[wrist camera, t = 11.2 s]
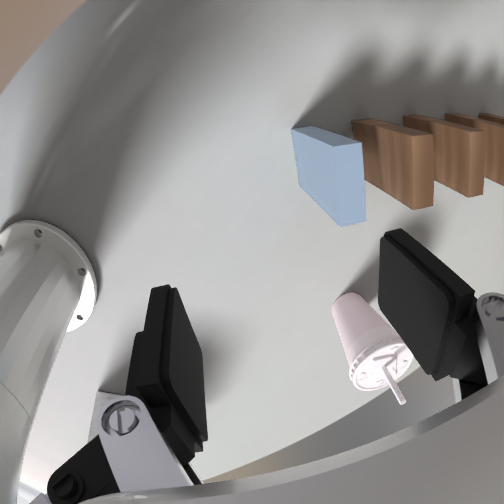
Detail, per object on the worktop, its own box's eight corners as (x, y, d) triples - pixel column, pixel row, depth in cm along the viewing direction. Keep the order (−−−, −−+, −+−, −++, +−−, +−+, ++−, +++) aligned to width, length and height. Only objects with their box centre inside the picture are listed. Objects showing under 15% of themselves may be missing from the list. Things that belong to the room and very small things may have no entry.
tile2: (356, 175, 27) (413, 210, 19) (351, 120, 25) (412, 136, 17) (373, 172, 27) (433, 205, 20) (369, 118, 25) (433, 134, 17)
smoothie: (353, 271, 32) (424, 367, 20) (382, 301, 35) (445, 389, 22) (308, 311, 34) (356, 418, 21) (341, 336, 36) (389, 431, 24)
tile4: (446, 160, 28) (508, 188, 20) (445, 113, 25) (511, 130, 18) (458, 159, 28) (519, 186, 20) (457, 113, 25) (522, 130, 18)
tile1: (299, 186, 27) (340, 227, 19) (291, 129, 25) (333, 146, 17) (319, 182, 27) (366, 221, 19) (311, 125, 25) (361, 142, 17)
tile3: (406, 166, 28) (468, 197, 20) (403, 115, 25) (470, 131, 17) (420, 164, 28) (482, 194, 20) (417, 114, 25) (485, 131, 17)
